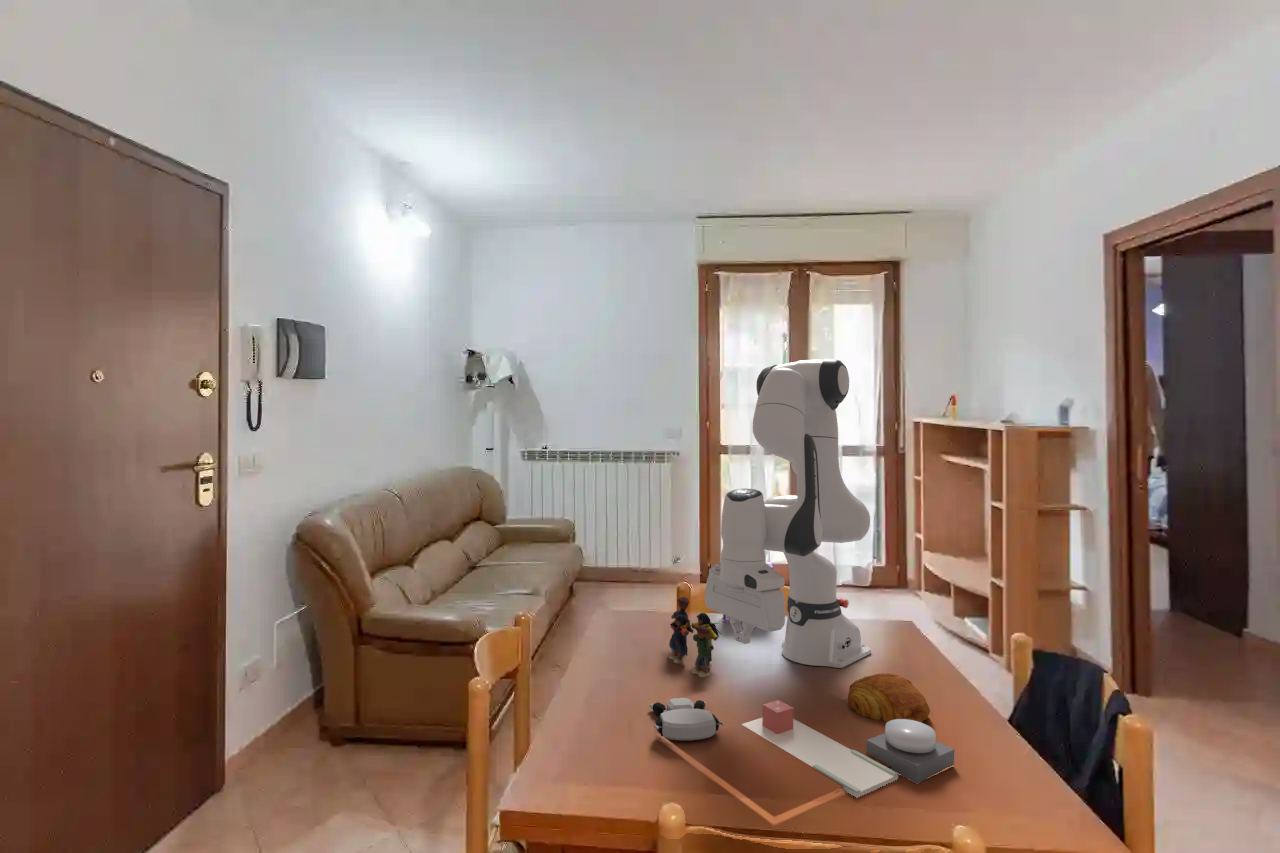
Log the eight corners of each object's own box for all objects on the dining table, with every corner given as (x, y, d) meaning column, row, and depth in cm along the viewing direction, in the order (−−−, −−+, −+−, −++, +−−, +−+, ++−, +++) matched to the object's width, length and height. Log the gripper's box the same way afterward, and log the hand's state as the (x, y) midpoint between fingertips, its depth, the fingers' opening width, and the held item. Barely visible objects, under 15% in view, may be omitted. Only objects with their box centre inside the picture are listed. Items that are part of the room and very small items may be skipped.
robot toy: (646, 718, 135) (657, 751, 120) (646, 695, 135) (657, 725, 120) (707, 715, 136) (725, 747, 121) (707, 692, 136) (725, 721, 122)
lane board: (780, 715, 134) (780, 710, 134) (897, 779, 111) (897, 773, 111) (729, 732, 127) (729, 726, 127) (843, 804, 104) (843, 797, 104)
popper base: (903, 742, 124) (903, 725, 124) (954, 766, 115) (954, 749, 115) (866, 757, 119) (866, 740, 118) (917, 784, 110) (917, 765, 110)
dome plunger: (904, 737, 122) (904, 715, 122) (945, 756, 116) (945, 733, 116) (875, 748, 118) (875, 726, 118) (915, 769, 111) (916, 745, 111)
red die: (778, 720, 130) (778, 698, 130) (793, 728, 127) (793, 706, 127) (762, 725, 128) (762, 703, 128) (777, 734, 125) (777, 711, 125)
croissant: (836, 713, 140) (831, 675, 140) (899, 693, 145) (894, 656, 145) (882, 744, 127) (877, 703, 126) (949, 721, 131) (944, 681, 131)
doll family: (647, 650, 170) (647, 596, 169) (676, 643, 175) (676, 591, 174) (707, 681, 151) (708, 621, 150) (738, 672, 156) (738, 614, 156)
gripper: (698, 563, 142) (697, 630, 142) (766, 584, 125) (765, 659, 125) (721, 560, 146) (720, 625, 146) (791, 580, 128) (790, 653, 128)
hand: (741, 641), depth 135 cm, fingers closed
